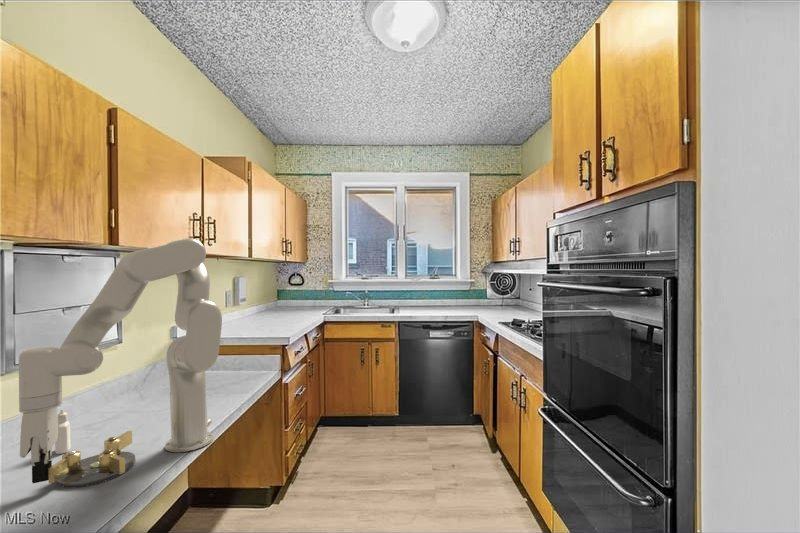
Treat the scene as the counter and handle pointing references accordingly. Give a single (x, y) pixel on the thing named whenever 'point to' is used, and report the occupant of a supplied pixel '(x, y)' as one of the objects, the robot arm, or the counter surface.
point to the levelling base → (93, 472)
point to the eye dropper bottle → (63, 434)
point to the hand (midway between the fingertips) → (42, 480)
